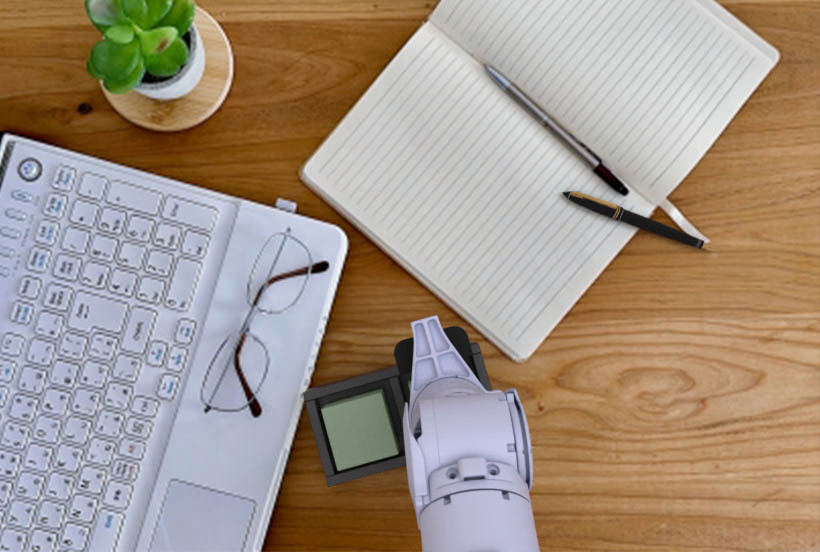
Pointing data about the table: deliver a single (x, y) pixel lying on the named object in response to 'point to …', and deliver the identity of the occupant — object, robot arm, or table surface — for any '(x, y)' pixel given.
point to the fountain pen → (634, 219)
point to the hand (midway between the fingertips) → (446, 404)
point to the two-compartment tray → (367, 420)
